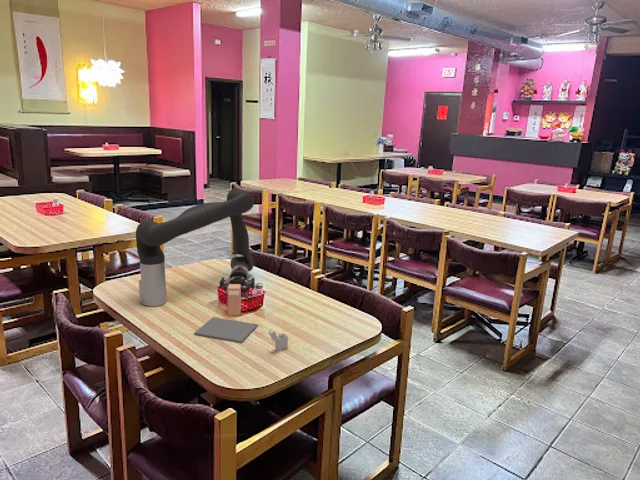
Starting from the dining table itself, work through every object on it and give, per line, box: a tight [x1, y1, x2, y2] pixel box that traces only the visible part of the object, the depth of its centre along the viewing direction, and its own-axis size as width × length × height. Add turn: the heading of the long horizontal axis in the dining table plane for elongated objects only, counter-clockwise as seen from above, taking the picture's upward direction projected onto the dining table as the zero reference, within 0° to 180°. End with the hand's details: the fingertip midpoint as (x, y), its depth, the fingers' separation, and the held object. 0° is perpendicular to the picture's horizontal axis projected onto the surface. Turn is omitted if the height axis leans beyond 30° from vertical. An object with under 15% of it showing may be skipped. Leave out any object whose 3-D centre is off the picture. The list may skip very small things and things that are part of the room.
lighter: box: [267, 328, 289, 352], centre depth 160 cm, size 7×2×8 cm, turn 132°
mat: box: [194, 316, 259, 344], centre depth 173 cm, size 18×14×1 cm
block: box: [227, 284, 242, 316], centre depth 187 cm, size 4×5×11 cm
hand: (236, 289), depth 194 cm, fingers open, 8 cm apart
